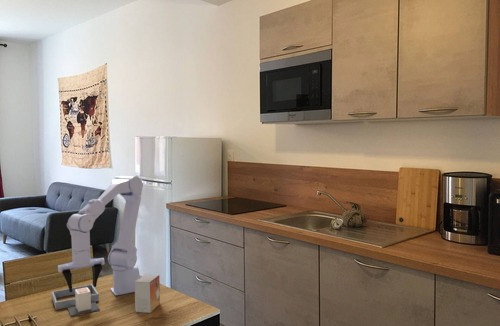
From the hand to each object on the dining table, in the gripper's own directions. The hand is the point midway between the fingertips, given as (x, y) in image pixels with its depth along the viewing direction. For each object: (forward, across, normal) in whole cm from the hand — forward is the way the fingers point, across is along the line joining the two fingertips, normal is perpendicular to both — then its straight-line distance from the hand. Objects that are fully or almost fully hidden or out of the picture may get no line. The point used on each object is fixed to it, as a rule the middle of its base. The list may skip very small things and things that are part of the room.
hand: (82, 288), depth 137 cm
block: (+7, 0, 0) cm, 7 cm away
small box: (+8, -18, +12) cm, 23 cm away
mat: (+7, 0, 0) cm, 7 cm away
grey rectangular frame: (+7, +1, -11) cm, 13 cm away
